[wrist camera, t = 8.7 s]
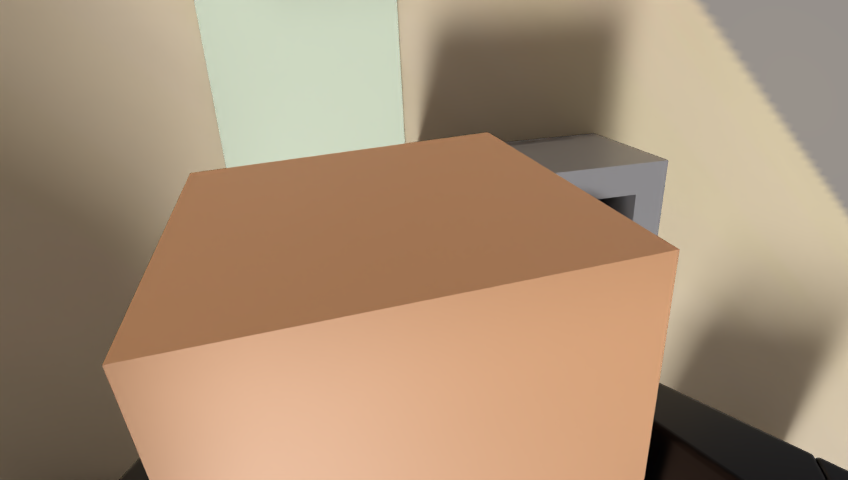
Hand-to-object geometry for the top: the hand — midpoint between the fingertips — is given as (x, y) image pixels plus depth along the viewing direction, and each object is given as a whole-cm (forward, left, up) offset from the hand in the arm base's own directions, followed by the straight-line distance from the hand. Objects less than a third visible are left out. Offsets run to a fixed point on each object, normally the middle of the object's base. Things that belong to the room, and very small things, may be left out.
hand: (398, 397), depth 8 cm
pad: (0, +3, -12) cm, 12 cm away
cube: (0, +1, -2) cm, 3 cm away
